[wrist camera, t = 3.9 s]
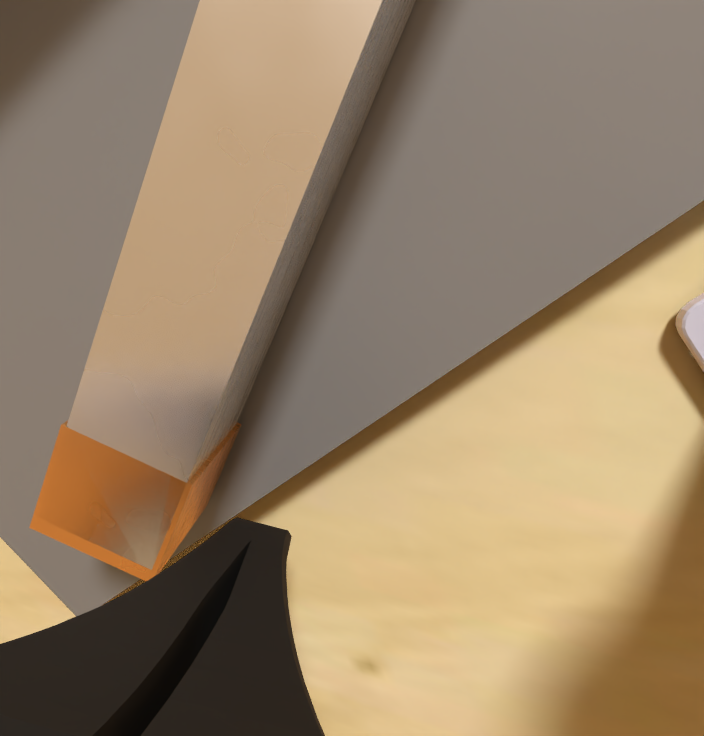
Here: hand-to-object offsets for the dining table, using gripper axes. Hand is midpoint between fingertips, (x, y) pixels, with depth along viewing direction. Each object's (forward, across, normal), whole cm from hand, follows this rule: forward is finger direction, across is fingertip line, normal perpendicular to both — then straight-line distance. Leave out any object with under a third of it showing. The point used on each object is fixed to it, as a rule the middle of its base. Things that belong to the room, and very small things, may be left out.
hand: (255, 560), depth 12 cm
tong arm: (+1, +1, -9) cm, 9 cm away
